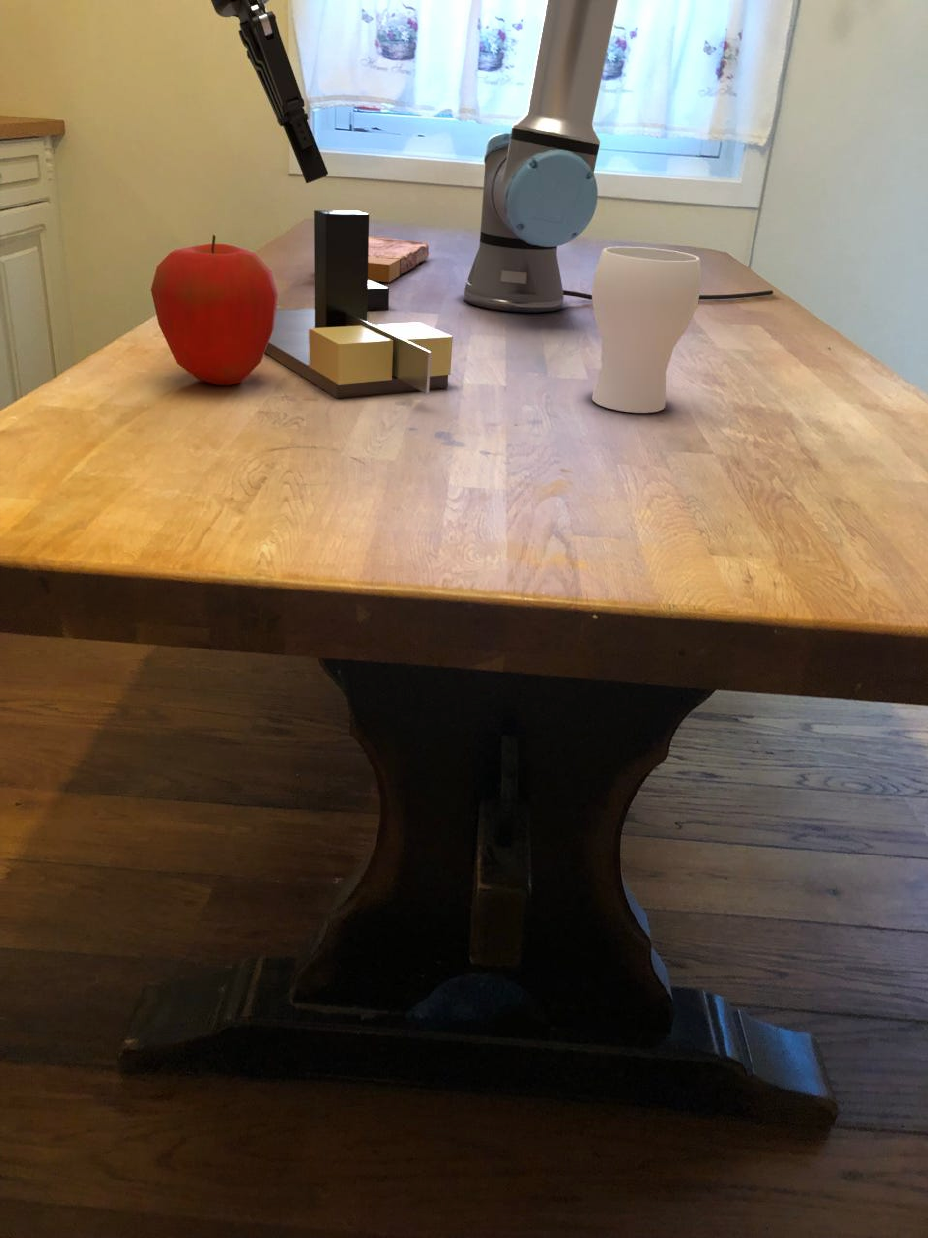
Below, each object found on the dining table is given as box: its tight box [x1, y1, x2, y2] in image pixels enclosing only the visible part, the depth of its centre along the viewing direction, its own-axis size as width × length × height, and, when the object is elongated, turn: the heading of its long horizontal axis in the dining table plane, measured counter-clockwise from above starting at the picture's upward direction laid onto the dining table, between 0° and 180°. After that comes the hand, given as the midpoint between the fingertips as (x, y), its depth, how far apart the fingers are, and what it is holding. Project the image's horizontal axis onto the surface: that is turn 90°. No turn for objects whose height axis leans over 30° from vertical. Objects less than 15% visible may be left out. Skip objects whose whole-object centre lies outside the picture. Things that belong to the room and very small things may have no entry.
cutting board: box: [264, 308, 449, 399], centre depth 110 cm, size 34×13×2 cm, turn 32°
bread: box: [368, 234, 430, 283], centre depth 166 cm, size 13×30×3 cm, turn 169°
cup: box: [591, 245, 702, 414], centre depth 97 cm, size 11×11×15 cm
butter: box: [309, 321, 454, 385], centre depth 99 cm, size 7×13×4 cm, turn 122°
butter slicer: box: [313, 209, 431, 394], centre depth 97 cm, size 21×5×14 cm, turn 32°
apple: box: [150, 234, 279, 386], centre depth 94 cm, size 12×12×14 cm
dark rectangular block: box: [367, 280, 390, 312], centre depth 136 cm, size 8×6×3 cm
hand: (317, 178), depth 116 cm, fingers closed
